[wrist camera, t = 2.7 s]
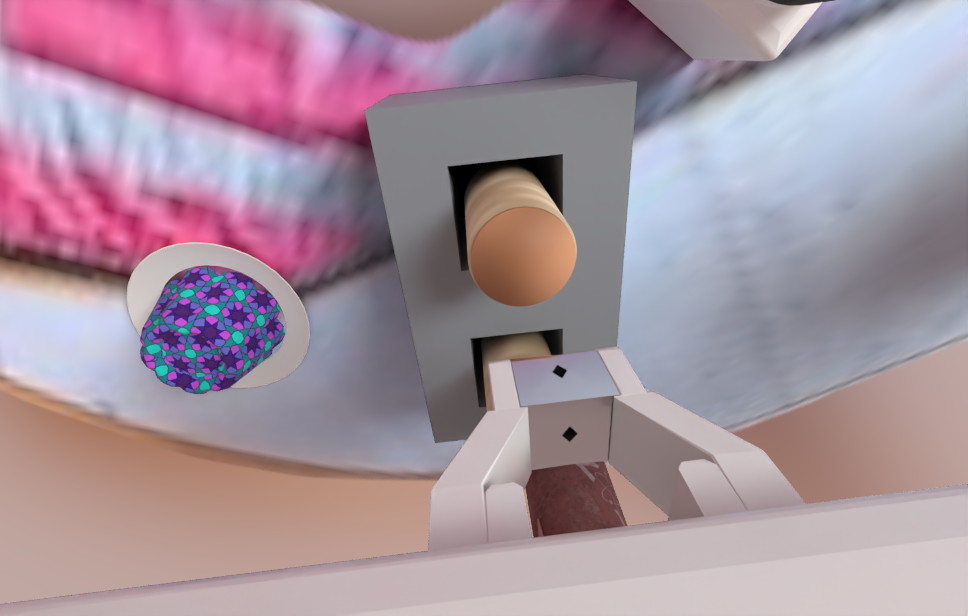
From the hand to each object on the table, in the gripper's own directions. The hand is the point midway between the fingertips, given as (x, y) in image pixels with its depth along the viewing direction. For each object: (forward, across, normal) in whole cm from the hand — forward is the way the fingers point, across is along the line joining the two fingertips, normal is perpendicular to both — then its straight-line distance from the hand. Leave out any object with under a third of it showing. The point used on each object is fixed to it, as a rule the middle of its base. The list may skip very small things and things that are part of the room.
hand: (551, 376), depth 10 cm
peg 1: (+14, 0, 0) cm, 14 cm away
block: (+19, 0, +4) cm, 20 cm away
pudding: (+20, +20, +8) cm, 29 cm away
